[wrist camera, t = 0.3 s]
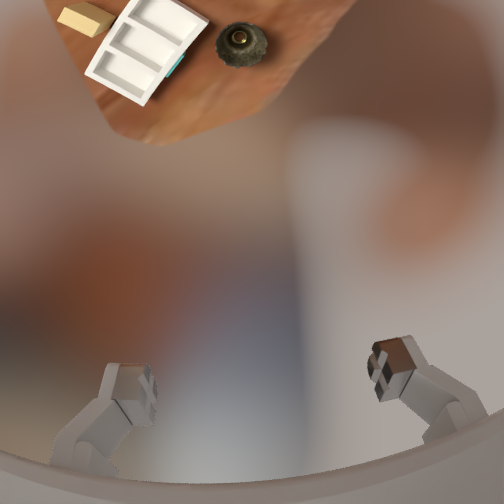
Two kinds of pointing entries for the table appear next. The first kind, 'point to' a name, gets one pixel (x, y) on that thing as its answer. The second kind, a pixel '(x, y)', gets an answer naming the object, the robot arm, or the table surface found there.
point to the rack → (145, 46)
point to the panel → (86, 18)
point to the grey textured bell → (241, 45)
